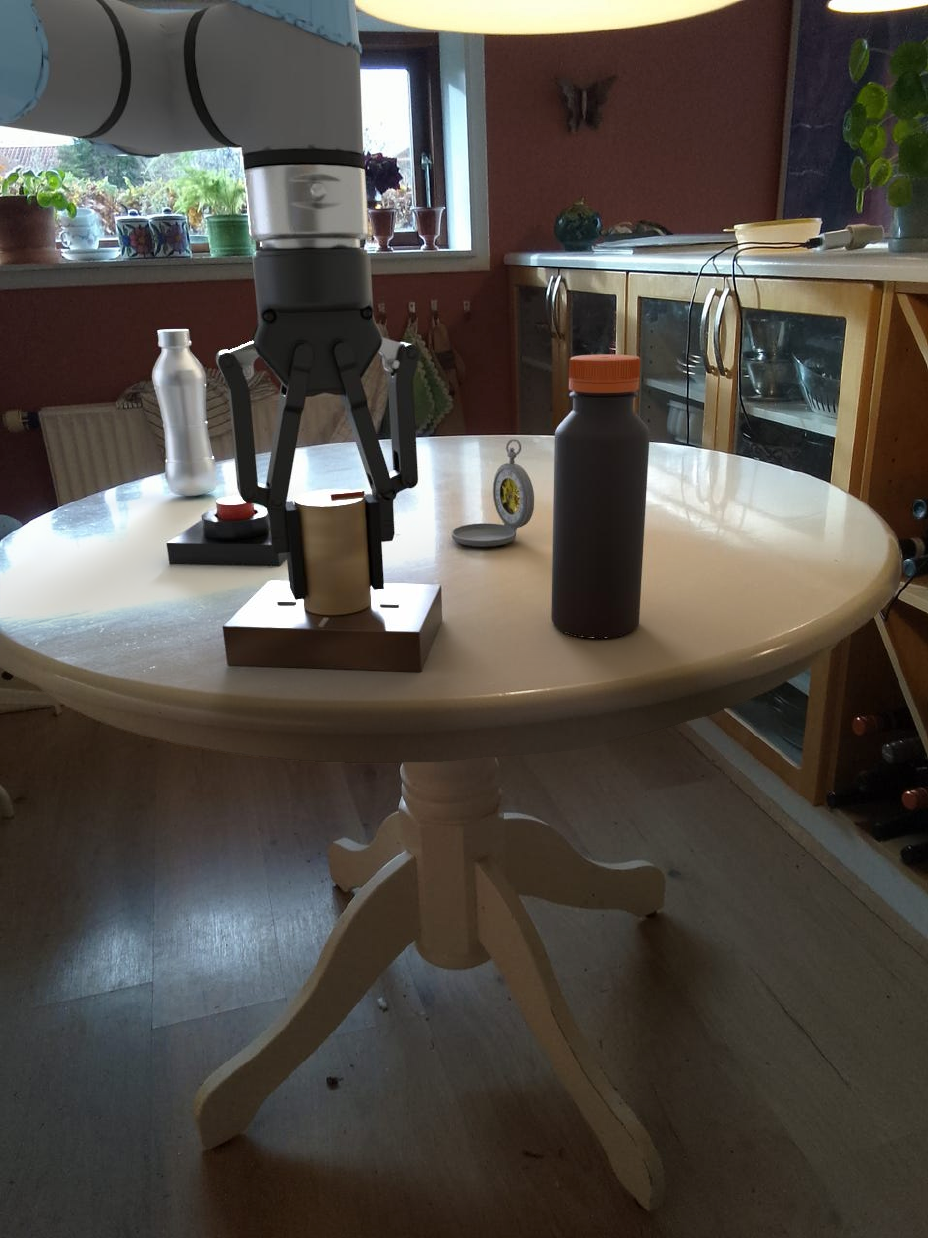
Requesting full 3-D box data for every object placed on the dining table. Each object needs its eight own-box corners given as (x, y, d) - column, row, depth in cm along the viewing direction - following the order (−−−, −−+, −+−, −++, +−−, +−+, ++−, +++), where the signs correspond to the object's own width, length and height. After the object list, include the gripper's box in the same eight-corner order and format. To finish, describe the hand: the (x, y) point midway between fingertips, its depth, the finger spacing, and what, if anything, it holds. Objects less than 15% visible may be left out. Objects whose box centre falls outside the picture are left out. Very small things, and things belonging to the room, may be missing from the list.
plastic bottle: (168, 503, 109) (144, 332, 102) (167, 491, 115) (144, 329, 108) (222, 498, 111) (202, 330, 104) (218, 487, 117) (199, 327, 110)
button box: (169, 564, 86) (163, 524, 84) (205, 538, 94) (201, 501, 93) (279, 567, 85) (275, 526, 83) (306, 540, 93) (303, 502, 91)
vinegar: (541, 634, 67) (545, 361, 60) (562, 605, 73) (568, 352, 66) (630, 645, 65) (646, 362, 58) (645, 613, 71) (661, 353, 64)
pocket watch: (440, 546, 90) (437, 446, 86) (476, 525, 97) (474, 432, 93) (515, 555, 87) (515, 452, 83) (546, 533, 94) (547, 437, 90)
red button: (212, 521, 87) (209, 504, 86) (225, 512, 90) (223, 495, 89) (247, 522, 86) (245, 504, 86) (260, 512, 90) (258, 495, 89)
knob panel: (226, 665, 63) (221, 624, 62) (272, 615, 73) (268, 578, 71) (421, 672, 62) (419, 630, 60) (442, 620, 71) (441, 582, 70)
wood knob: (309, 619, 63) (299, 504, 60) (299, 596, 67) (289, 488, 64) (378, 610, 64) (371, 497, 61) (363, 588, 69) (357, 483, 66)
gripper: (164, 245, 51) (213, 622, 60) (463, 242, 56) (469, 589, 65) (162, 249, 58) (206, 587, 66) (429, 246, 63) (439, 560, 71)
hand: (336, 588), depth 66 cm, fingers closed on wood knob, 5 cm apart
